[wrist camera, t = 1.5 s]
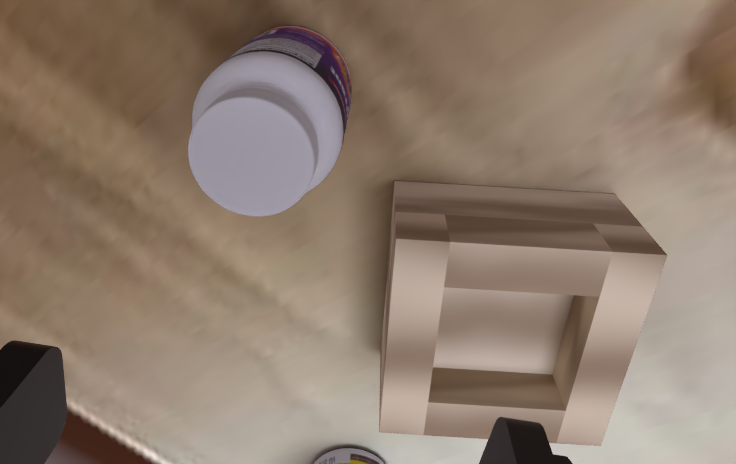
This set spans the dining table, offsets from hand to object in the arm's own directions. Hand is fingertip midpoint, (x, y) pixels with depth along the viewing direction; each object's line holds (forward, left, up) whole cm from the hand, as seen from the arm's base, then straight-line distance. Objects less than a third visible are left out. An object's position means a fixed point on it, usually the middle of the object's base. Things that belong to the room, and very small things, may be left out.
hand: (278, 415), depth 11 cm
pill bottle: (-1, -3, -19) cm, 19 cm away
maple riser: (+7, +9, -19) cm, 22 cm away
